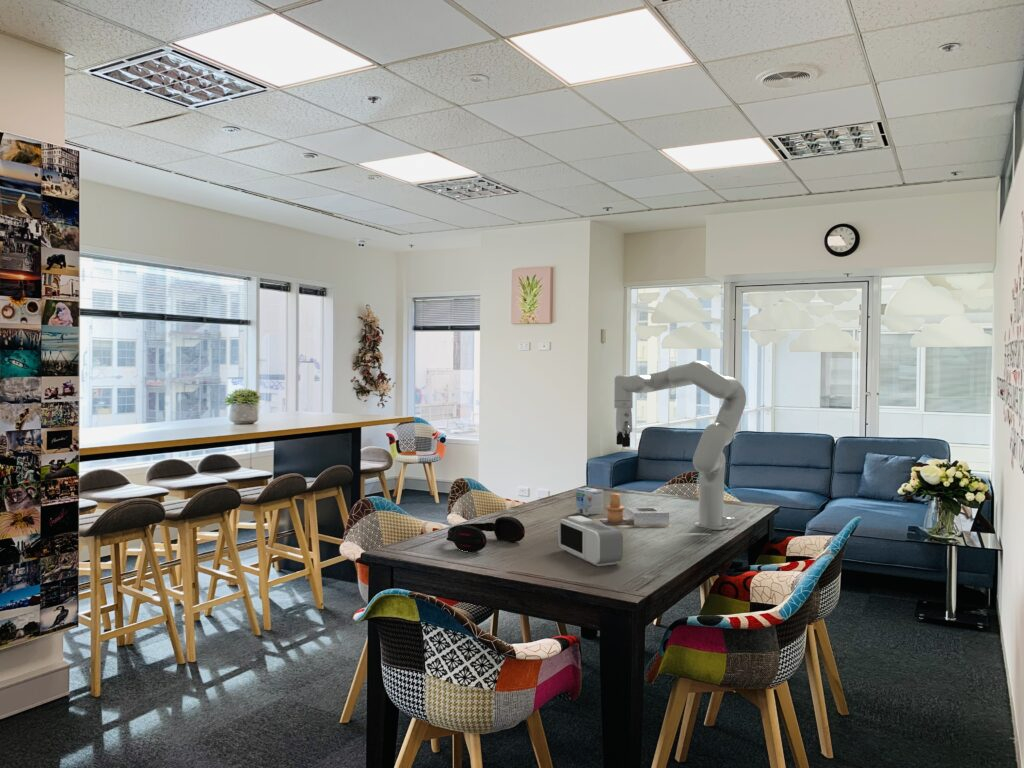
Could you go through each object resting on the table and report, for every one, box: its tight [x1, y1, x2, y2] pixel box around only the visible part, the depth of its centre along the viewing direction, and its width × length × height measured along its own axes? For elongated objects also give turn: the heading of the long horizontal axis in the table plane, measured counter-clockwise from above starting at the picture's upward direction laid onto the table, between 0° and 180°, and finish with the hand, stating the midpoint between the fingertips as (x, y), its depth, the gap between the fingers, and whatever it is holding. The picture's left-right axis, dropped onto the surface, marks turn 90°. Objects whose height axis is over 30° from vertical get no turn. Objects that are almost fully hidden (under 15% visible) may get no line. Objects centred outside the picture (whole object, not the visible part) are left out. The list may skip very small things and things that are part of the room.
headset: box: [446, 516, 526, 553], centre depth 272 cm, size 28×26×9 cm
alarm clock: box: [557, 515, 624, 567], centre depth 255 cm, size 27×9×12 cm, turn 23°
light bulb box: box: [575, 486, 604, 517], centre depth 333 cm, size 11×7×11 cm, turn 37°
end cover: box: [605, 492, 626, 523], centre depth 309 cm, size 8×8×11 cm
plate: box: [592, 506, 674, 529], centre depth 310 cm, size 28×18×6 cm, turn 96°
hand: (623, 445), depth 324 cm, fingers open, 9 cm apart
